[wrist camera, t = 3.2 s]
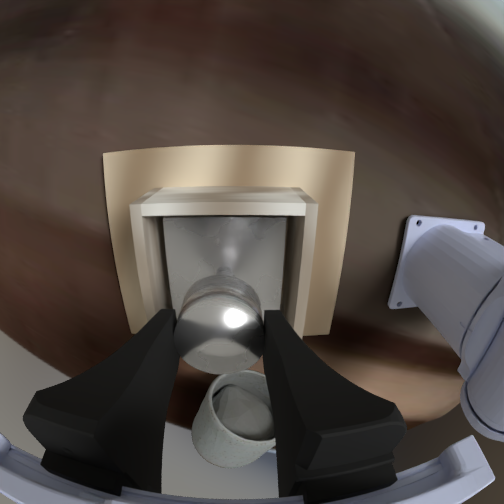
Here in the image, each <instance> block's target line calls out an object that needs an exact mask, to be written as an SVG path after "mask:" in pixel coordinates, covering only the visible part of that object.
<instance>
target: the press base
mask: <svg viewBox="0 0 504 504" xmlns="http://www.w3.org/2000/svg"><path fill="white" fill-rule="evenodd" d="M354 158H355V152H350V151H341V150H331V149H320V148H307V147H291V146H268V145H198V146H176V147H160V148H147V149H136V150H126V151H118V152H109V153H103V163H104V178H105V190H106V200H107V209H108V218H109V225H110V232H111V239H112V246H113V252H114V258H115V263H116V268H117V274H118V279H119V284H120V288H121V293H122V297H123V302H124V306H125V310H126V314H127V318H128V322H129V326H130V330H131V333H133V334H136V333H137V332H138V331H139V330H140V329H141V328H143V326H144V325H145V324H146V323H147V322H148V321H149V320H150V319H151V318H152V317H153V316H154V315H155V314H156V313H157V312H158V311H159V310H160V309H173V305H172V298H171V291H170V283H169V275H168V267H167V258H166V248H165V238H164V226H163V217H164V216H168V215H285V216H286V234H285V249H284V263H283V277H282V290H281V302H280V311H281V312H282V314H283V315H284V317H285V318H286V320H287V321H288V322H289V324H290V325H291V327H292V328H293V329H294V331H295V332H296V333H297V334H298V335H299V337H300V338H301V339H302V336H309V335H324V334H329V331H330V327H331V322H332V317H333V312H334V307H335V302H336V297H337V292H338V286H339V281H340V275H341V269H342V263H343V256H344V250H345V243H346V235H347V228H348V220H349V212H350V203H351V193H352V183H353V171H354ZM177 320H178V319H177ZM263 324H264V320H263Z"/></svg>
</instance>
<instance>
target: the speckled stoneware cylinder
mask: <svg viewBox="0 0 504 504" xmlns="http://www.w3.org/2000/svg"><path fill="white" fill-rule="evenodd" d="M192 440H193V444H194V446H195V448H196V450H197V451H198V453H199V454H200V455H201V456H202V457H203V458H204V459H205V460H207V461H208V462H210V463H211V464H213V465H216V466H219V467H223V468H237V467H242V466H245V465H247V464H250V463H252V462H253V461H255V460H257V459H258V458H259V457H260V456H261V455H263V454H264V453H265V452H267V451H268V450H269V449H271V448H272V447H274V446H275V445H276V442H275V430H274V419H273V412H272V407H271V402H270V397H269V392H268V387H267V382H266V377H265V375H264V374H262V373H259V372H256V371H253V370H247V369H245V370H243V371H241V372H237V373H233V374H221V375H219V376H218V377H217V378H215V379H214V381H213V382H212V383H211V385H210V387H209V389H208V391H207V393H206V396H205V398H204V400H203V402H202V404H201V406H200V409H199V411H198V413H197V415H196V416H195V419H194V422H193V425H192Z"/></svg>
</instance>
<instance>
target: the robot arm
mask: <svg viewBox="0 0 504 504" xmlns="http://www.w3.org/2000/svg"><path fill="white" fill-rule="evenodd" d="M418 220H419V223H418V224H417V225H416V223H417V221H418ZM474 226H475V227H474ZM484 229H485V224H484V223H483V222H480V221H471V220H462V219H452V218H441V217H430V216H417V215H411V216H409V217H408V219H407V221H406V227H405V232H404V238H403V243H402V248H401V252H400V257H399V261H398V266H397V270H396V274H395V278H394V282H393V286H392V290H391V293H390V297H389V301H388V306H389V308H390V309H400V308H410V307H419V309H420V310H421V311H422V312H423V313H424V314H425V316H426V317H427V318H428V319H429V320H430V321H431V323H432V324H433V325H434V326H435V327H436V329H437V330H438V331H439V332H440V333H441V335H442V336H443V337H444V338H445V339H446V341H447V342H448V343H449V344H450V346H451V347H452V348H453V349H454V351H455V352H456V353H457V355H458V356H459V357H460V358H461V364H460V366H459V368H458V372H459V373H460V374H461V376H462V377H463V379H464V380H465V382H464V383H463V385H462V388H461V392H460V401H461V406H462V409H463V412H464V414H465V416H466V418H467V420H468V421H469V422H470V424H471V425H472V426H473V428H474V429H475V430H477V431H478V432H479V433H481V434H482V435H484V436H485V437H488V438H490V439H493V440H498V441H502V442H504V246H502V245H500V244H499V243H497V242H495V241H494V240H492V239H490V238H489V237H487V236H485V235H483V233H484ZM398 302H399V303H398ZM397 303H398V304H397ZM176 324H177V318H176V312H175V309H160V310H159V311H158V312H157V313H156V314H155V315H154V316H153V317H152V318H151V319H150V320H149V321H148V322H147V323H146V324H145V325H144V326H143V328H141V329H140V330H139V331H138V332H137V333H136V334H135V335H134V336H133V337H132V338H131V339H130V340H129V341H128V342H126V343H125V344H124V345H123V346H122V347H121V348H120V349H118V350H117V351H116V352H114V353H113V354H112V355H111V356H109V357H108V358H106V359H105V360H103V361H102V362H100V363H99V364H97V365H96V366H94V367H92V368H90V369H89V370H87V371H85V372H84V373H82V374H80V375H78V376H76V377H74V378H72V379H69V380H67V381H65V382H63V383H60V384H57V385H55V386H52V387H49V388H46V389H43V390H39V391H36V393H35V395H34V397H33V398H32V400H31V402H30V404H29V406H28V408H27V409H26V411H25V413H24V415H23V421H24V424H25V426H26V427H27V429H28V430H29V431H30V432H31V434H32V435H33V436H34V437H35V438H36V439H37V440H38V441H39V442H40V443H41V445H42V446H43V447H44V448H45V449H46V451H45V453H44V456H43V458H42V459H40V458H38V457H36V456H34V455H32V454H30V453H27V452H26V451H24V450H22V449H20V448H18V447H16V446H14V445H12V444H11V443H10V442H9V440H8V439H6V437H5V436H4V435H3V434H1V433H0V492H1V493H2V494H4V495H5V496H7V497H8V498H10V499H12V500H13V501H14V502H16V503H18V504H461V503H463V502H464V501H466V500H467V499H469V498H470V497H472V496H473V495H475V494H476V493H478V492H479V491H480V490H482V489H483V488H485V487H486V486H487V485H489V484H490V483H492V482H493V481H494V480H495V477H494V475H493V473H492V470H491V468H490V467H489V464H488V462H487V461H486V459H485V457H484V455H483V453H482V451H481V449H480V447H479V445H478V443H477V442H476V440H475V438H474V437H473V435H470V436H468V437H466V438H464V439H462V440H460V441H458V442H456V443H454V444H452V445H451V446H449V447H448V448H447V449H445V450H444V451H443V452H442V453H441V454H440V456H439V457H438V458H435V459H433V460H431V461H428V462H426V463H423V464H421V465H418V466H416V467H413V468H410V469H408V470H405V471H402V472H400V473H395V470H394V468H393V465H392V462H393V461H394V460H395V459H394V455H393V453H392V451H393V449H394V448H395V447H396V446H397V444H398V443H399V442H400V441H401V439H402V438H403V436H404V435H405V433H406V431H407V426H406V423H405V421H404V419H403V417H402V415H401V413H400V411H399V410H398V408H397V406H396V405H395V403H393V402H390V401H388V400H386V399H383V398H381V397H378V396H376V395H374V394H372V393H370V392H368V391H366V390H364V389H362V388H360V387H358V386H357V385H355V384H353V383H352V382H350V381H349V380H347V379H346V378H344V377H343V376H341V375H340V374H338V373H337V372H335V371H334V370H333V369H331V368H330V367H329V366H328V365H327V364H326V363H324V362H323V361H322V360H321V359H320V358H319V357H318V356H317V355H316V354H315V353H314V352H313V351H312V350H311V349H310V348H309V347H308V346H307V345H306V344H305V343H304V341H303V340H302V339H301V338H300V337H299V335H298V334H297V333H296V332H295V331H294V329H293V328H292V327H291V325H290V324H289V322H288V321H287V320H286V318H285V317H284V315H283V314H282V312H281V311H280V310H264V332H265V349H264V352H263V365H264V372H265V377H266V382H267V387H268V392H269V397H270V402H271V407H272V412H273V419H274V430H275V442H276V455H277V469H278V488H279V498H268V499H239V500H237V499H234V500H232V499H230V500H229V499H206V498H192V497H182V496H174V495H166V494H161V470H162V451H163V439H164V429H165V421H166V414H167V409H168V405H169V401H170V397H171V393H172V389H173V385H174V382H175V378H176V374H177V370H178V366H179V359H180V355H179V353H178V352H177V350H176V348H175V343H174V331H175V327H176Z"/></svg>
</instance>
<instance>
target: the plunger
mask: <svg viewBox="0 0 504 504" xmlns="http://www.w3.org/2000/svg"><path fill="white" fill-rule="evenodd" d="M163 226H164V238H165V248H166V258H167V267H168V275H169V283H170V291H171V298H172V305H173V309H175V312H176V318H177V319H178V320H177V324H176V327H175V331H174V343H175V348H176V350H177V352H178V353H179V355H180V356H181V357H182V359H183V360H184V361H186V362H187V363H188V364H189V365H191V366H192V367H194V368H196V369H198V370H201V371H204V372H207V373H211V374H233V373H237V372H241V371H243V370H245V369H248V368H249V367H251V366H252V365H254V364H255V363H256V362H257V361H258V360H259V359H260V357H261V356H262V354H263V352H264V349H265V332H264V324H263V320H264V310H280V302H281V290H282V277H283V263H284V249H285V234H286V216H285V215H168V216H164V217H163Z"/></svg>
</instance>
